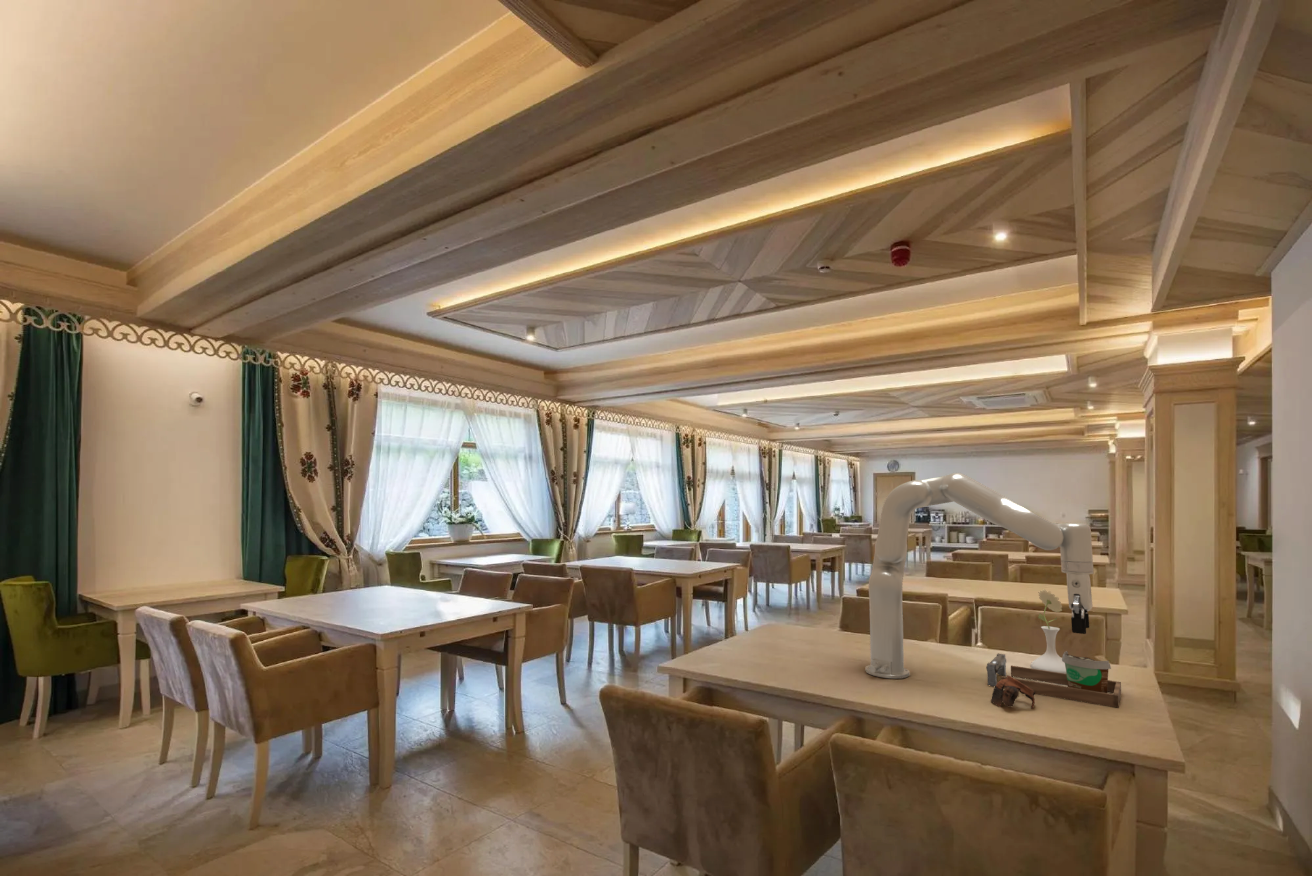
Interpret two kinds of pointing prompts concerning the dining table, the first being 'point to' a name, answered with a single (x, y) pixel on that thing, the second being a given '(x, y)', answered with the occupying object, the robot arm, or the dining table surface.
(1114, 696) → the long wooden tray
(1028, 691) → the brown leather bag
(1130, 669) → the dining table surface
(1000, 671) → the grey arched handle
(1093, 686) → the food container
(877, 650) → the robot arm
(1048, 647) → the flower in vase
